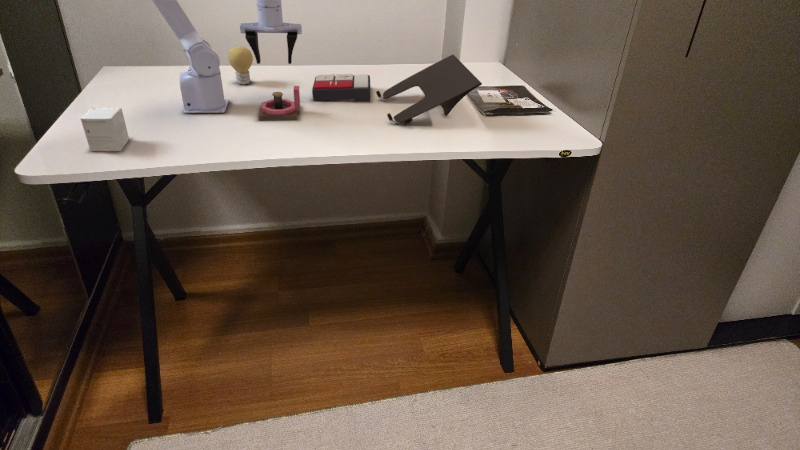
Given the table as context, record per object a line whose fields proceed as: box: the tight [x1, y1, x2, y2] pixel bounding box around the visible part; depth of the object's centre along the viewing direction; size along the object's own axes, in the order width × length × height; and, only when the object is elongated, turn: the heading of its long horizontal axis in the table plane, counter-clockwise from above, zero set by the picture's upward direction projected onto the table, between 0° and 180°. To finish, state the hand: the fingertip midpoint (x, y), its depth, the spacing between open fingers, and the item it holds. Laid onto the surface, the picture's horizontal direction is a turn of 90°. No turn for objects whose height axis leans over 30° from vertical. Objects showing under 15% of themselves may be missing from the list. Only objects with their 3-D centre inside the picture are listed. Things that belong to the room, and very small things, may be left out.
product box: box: [80, 107, 130, 152], centre depth 109 cm, size 6×6×7 cm
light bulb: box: [227, 45, 254, 85], centre depth 143 cm, size 6×6×10 cm
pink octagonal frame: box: [260, 85, 301, 115], centre depth 127 cm, size 9×8×5 cm
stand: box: [258, 91, 299, 121], centre depth 128 cm, size 9×9×5 cm
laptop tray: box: [375, 54, 483, 125], centre depth 133 cm, size 23×23×9 cm
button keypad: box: [311, 73, 371, 103], centre depth 141 cm, size 11×4×15 cm
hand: (274, 62), depth 132 cm, fingers open, 7 cm apart
